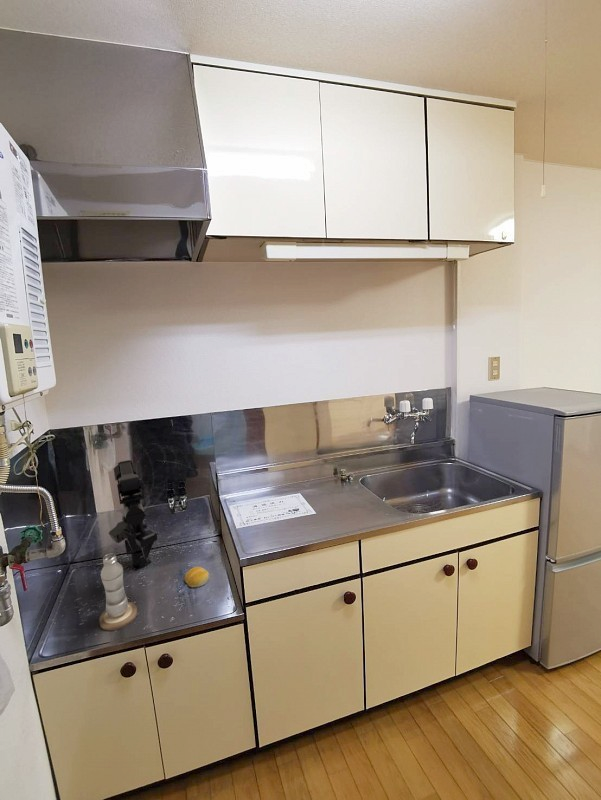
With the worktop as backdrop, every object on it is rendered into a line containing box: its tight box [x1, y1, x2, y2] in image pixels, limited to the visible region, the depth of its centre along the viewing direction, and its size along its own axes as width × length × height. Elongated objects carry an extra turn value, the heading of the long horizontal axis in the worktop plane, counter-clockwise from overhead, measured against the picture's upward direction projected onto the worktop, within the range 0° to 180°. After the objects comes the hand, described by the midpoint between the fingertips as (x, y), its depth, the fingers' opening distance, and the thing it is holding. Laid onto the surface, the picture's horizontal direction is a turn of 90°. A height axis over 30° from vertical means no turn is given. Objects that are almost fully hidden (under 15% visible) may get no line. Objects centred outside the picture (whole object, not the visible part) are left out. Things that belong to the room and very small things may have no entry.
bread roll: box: [184, 566, 210, 588], centre depth 143 cm, size 8×9×4 cm
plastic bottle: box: [100, 552, 129, 618], centre depth 124 cm, size 6×7×20 cm
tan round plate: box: [98, 601, 138, 631], centre depth 126 cm, size 11×11×2 cm
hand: (139, 553), depth 139 cm, fingers open, 9 cm apart
